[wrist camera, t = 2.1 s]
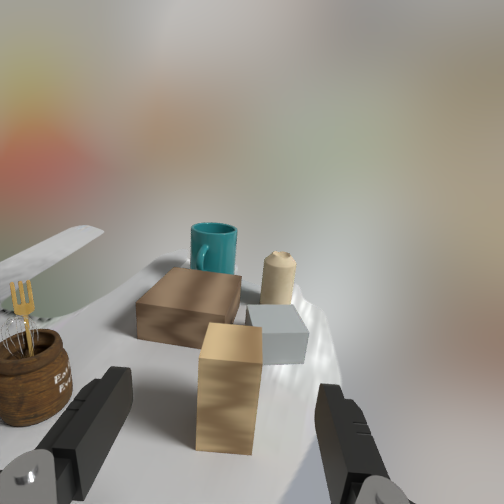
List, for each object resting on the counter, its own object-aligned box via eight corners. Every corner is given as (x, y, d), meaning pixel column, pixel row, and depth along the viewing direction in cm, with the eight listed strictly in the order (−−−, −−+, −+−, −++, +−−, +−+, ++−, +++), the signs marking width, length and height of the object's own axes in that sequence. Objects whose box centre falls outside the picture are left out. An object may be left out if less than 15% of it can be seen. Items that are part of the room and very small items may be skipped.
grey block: (251, 366, 36) (254, 333, 35) (244, 333, 43) (246, 304, 41) (303, 364, 37) (309, 332, 36) (288, 333, 44) (293, 304, 42)
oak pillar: (195, 450, 25) (198, 357, 22) (205, 404, 30) (209, 322, 27) (251, 455, 25) (262, 363, 22) (252, 408, 30) (262, 327, 27)
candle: (275, 316, 48) (282, 261, 45) (253, 303, 52) (258, 251, 48) (296, 307, 51) (304, 255, 48) (274, 295, 55) (280, 246, 52)
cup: (175, 291, 53) (175, 233, 50) (200, 268, 64) (202, 220, 61) (220, 300, 52) (224, 241, 48) (238, 275, 63) (242, 226, 59)
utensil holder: (-4, 441, 24) (-37, 321, 21) (3, 391, 29) (-23, 286, 25) (76, 412, 28) (60, 303, 24) (71, 371, 33) (57, 275, 29)
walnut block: (137, 340, 39) (135, 302, 37) (174, 297, 52) (173, 266, 50) (222, 354, 38) (225, 315, 36) (239, 306, 50) (241, 275, 48)
